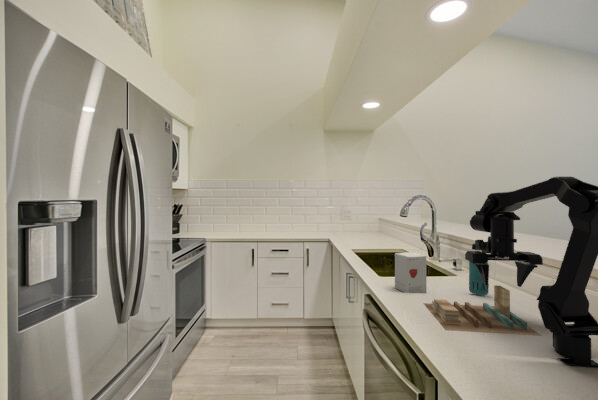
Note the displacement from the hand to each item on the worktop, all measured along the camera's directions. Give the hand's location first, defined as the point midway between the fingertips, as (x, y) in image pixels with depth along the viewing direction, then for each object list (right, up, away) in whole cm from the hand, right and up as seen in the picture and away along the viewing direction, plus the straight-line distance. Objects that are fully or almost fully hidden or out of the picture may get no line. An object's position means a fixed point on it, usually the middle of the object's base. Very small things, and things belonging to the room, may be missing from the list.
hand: (502, 285), depth 83 cm
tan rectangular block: (0, -10, 0) cm, 10 cm away
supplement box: (-16, -11, +29) cm, 35 cm away
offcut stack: (-16, -10, +2) cm, 19 cm away
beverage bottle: (+7, -11, +22) cm, 26 cm away
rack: (-9, -11, +1) cm, 14 cm away
